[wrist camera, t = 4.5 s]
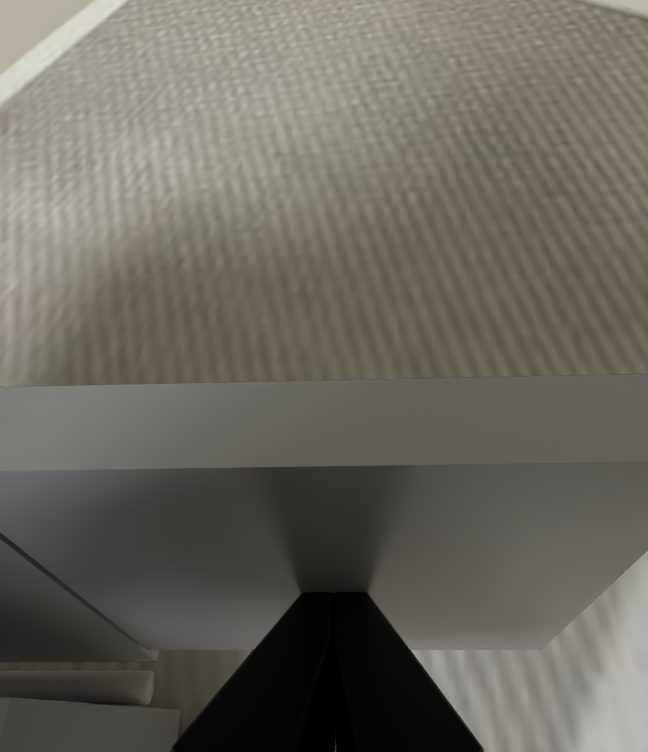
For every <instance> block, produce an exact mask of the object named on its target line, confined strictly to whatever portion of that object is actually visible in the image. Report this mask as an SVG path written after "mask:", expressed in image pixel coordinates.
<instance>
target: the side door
mask: <svg viewBox="0 0 648 752" xmlns="http://www.w3.org/2000/svg"><path fill="white" fill-rule="evenodd" d="M647 550H648V374H617V375H568V376H519V377H470V378H421V379H371V380H322V381H273V382H224V383H174V384H125V385H76V386H27V387H0V662H157V658H158V651H159V650H254V649H255V648H256V646H257V645H258V644H259V643H260V642H261V640H262V639H263V638H264V637H265V636H266V634H267V633H268V632H269V631H270V630H271V629H272V627H273V626H274V625H275V624H276V623H277V621H278V620H279V619H280V618H281V617H282V616H283V614H284V613H285V612H286V611H287V610H288V608H289V607H290V606H291V605H292V604H293V602H294V601H295V600H296V599H297V598H298V597H299V595H300V594H301V593H303V592H332V593H334V595H335V593H337V592H367V593H368V594H369V595H370V596H371V598H372V599H373V600H374V602H375V603H376V604H377V606H378V607H379V609H380V610H381V611H382V613H383V614H384V615H385V617H386V618H387V619H388V621H389V622H390V623H391V625H392V626H393V627H394V629H395V630H396V631H397V633H398V634H399V635H400V637H401V638H402V639H403V641H404V642H405V643H406V645H407V646H408V648H409V649H410V650H541V649H543V648H544V647H545V646H546V645H547V644H548V643H549V642H550V641H551V640H552V639H553V638H554V637H555V636H556V635H557V634H559V633H560V632H561V631H562V630H563V629H564V628H565V627H566V626H567V625H568V624H569V623H570V622H571V621H572V620H574V619H575V618H576V617H577V616H578V615H579V614H580V613H581V612H582V611H583V610H584V609H585V608H586V607H587V606H588V605H590V604H591V603H592V602H593V601H594V600H595V599H596V598H597V597H598V596H599V595H600V594H601V593H602V592H603V591H605V590H606V589H607V588H608V587H609V586H610V585H611V584H612V583H613V582H614V581H615V580H616V579H617V578H618V577H619V576H621V575H622V574H623V573H624V572H625V571H626V570H627V569H628V568H629V567H630V566H631V565H632V564H633V563H634V562H635V561H637V560H638V559H639V558H640V557H641V556H642V555H643V554H644V553H645V552H646V551H647Z"/></svg>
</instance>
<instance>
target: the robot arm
mask: <svg viewBox="0 0 648 752" xmlns="http://www.w3.org/2000/svg"><path fill="white" fill-rule="evenodd" d="M168 752H485V751H484V748H483V747H482V746H481V744H480V743H479V742H478V740H477V739H476V738H475V736H474V735H473V734H472V732H471V731H470V730H469V728H468V727H467V725H466V724H465V723H464V721H463V720H462V719H461V717H460V716H459V715H458V713H457V712H456V711H455V709H454V708H453V707H452V705H451V704H450V703H449V701H448V700H447V699H446V697H445V696H444V695H443V693H442V692H441V691H440V689H439V688H438V687H437V685H436V684H435V682H434V681H433V680H432V678H431V677H430V676H429V674H428V673H427V672H426V670H425V669H424V668H423V666H422V665H421V664H420V662H419V661H418V660H417V658H416V657H415V656H414V654H413V653H412V652H411V650H410V649H409V648H408V646H407V645H406V643H405V642H404V641H403V639H402V638H401V637H400V635H399V634H398V633H397V631H396V630H395V629H394V627H393V626H392V625H391V623H390V622H389V621H388V619H387V618H386V617H385V615H384V614H383V613H382V611H381V610H380V609H379V607H378V606H377V604H376V603H375V602H374V600H373V599H372V598H371V596H370V595H369V594H368V593H367V592H337V593H335V595H334V593H332V592H303V593H301V594H300V595H299V597H298V598H297V599H296V600H295V601H294V602H293V604H292V605H291V606H290V607H289V608H288V610H287V611H286V612H285V613H284V614H283V616H282V617H281V618H280V619H279V620H278V621H277V623H276V624H275V625H274V626H273V627H272V629H271V630H270V631H269V632H268V633H267V634H266V636H265V637H264V638H263V639H262V640H261V642H260V643H259V644H258V645H257V646H256V648H255V649H254V650H253V651H252V652H251V653H250V655H249V656H248V657H247V658H246V659H245V661H244V662H243V663H242V664H241V665H240V667H239V668H238V669H237V670H236V671H235V672H234V674H233V675H232V676H231V677H230V678H229V680H228V681H227V682H226V683H225V684H224V685H223V687H222V688H221V689H220V690H219V691H218V693H217V694H216V695H215V696H214V697H213V699H212V700H211V701H210V702H209V703H208V704H207V706H206V707H205V708H204V709H203V710H202V712H201V713H200V714H199V715H198V716H197V717H196V719H195V720H194V721H193V722H192V723H191V725H190V726H189V727H188V728H187V729H186V731H185V732H184V733H183V734H182V735H181V736H180V738H179V739H178V740H177V741H176V742H175V744H174V745H173V746H172V748H171V751H168Z"/></svg>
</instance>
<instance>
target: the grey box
mask: <svg viewBox="0 0 648 752" xmlns="http://www.w3.org/2000/svg"><path fill="white" fill-rule="evenodd" d="M153 692H154V673H153V671H152V670H0V752H168V751H171V748H172V746H173V745H174V744H175V742H176V741H177V740H178V731H179V721H180V712H181V710H177V709H162V708H146V707H131V706H115V705H148V704H149V703H150V702H151V699H152V696H153Z"/></svg>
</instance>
